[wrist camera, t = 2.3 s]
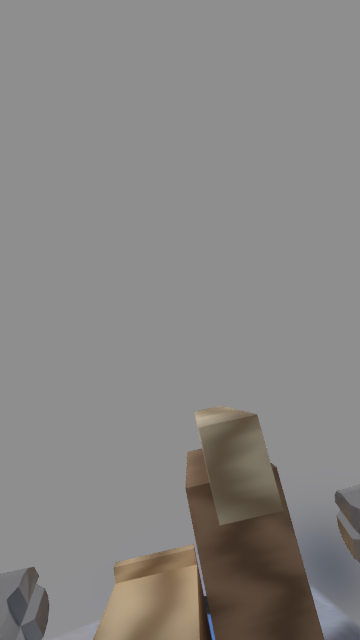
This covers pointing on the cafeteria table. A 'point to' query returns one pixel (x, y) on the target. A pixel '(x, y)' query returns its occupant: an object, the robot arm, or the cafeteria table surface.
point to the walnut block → (250, 568)
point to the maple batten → (237, 464)
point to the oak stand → (156, 599)
